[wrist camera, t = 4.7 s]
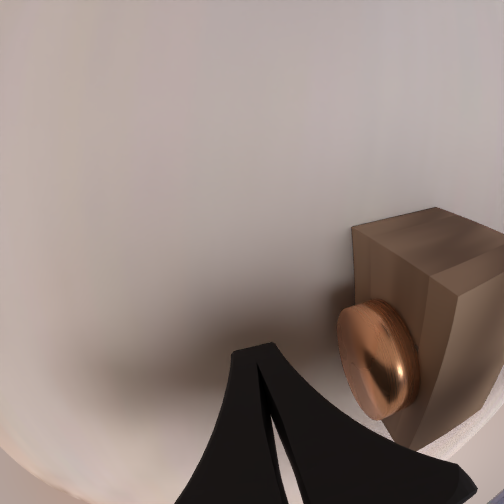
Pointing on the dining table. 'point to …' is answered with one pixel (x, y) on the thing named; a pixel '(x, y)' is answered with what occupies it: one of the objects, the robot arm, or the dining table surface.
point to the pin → (378, 358)
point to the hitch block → (438, 311)
